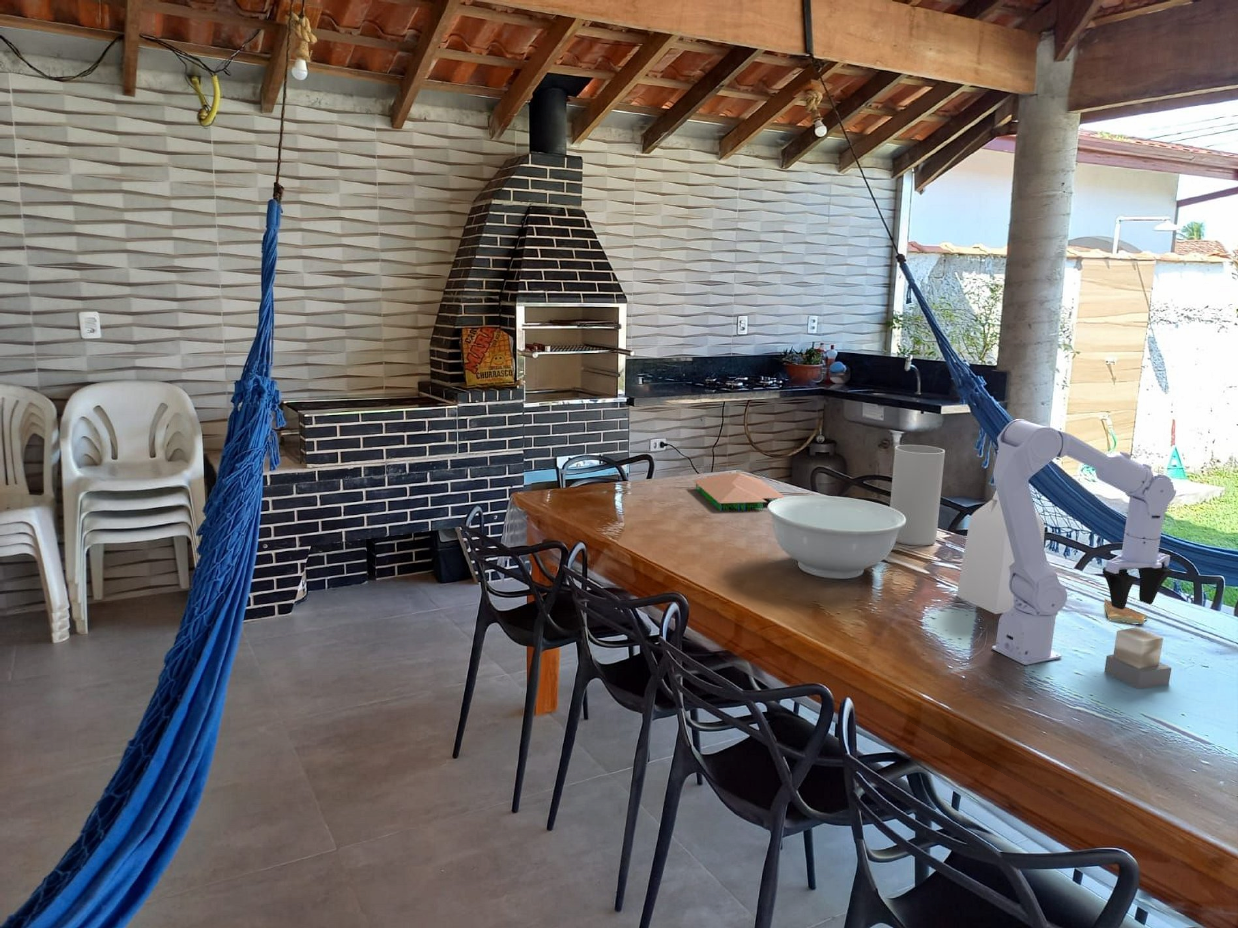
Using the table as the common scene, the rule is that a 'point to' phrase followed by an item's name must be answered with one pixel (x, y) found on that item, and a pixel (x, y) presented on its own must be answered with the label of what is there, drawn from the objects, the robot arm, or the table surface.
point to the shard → (1124, 614)
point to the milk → (988, 559)
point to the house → (736, 490)
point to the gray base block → (1138, 673)
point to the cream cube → (1138, 647)
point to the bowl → (835, 533)
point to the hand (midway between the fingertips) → (1131, 604)
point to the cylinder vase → (917, 492)
